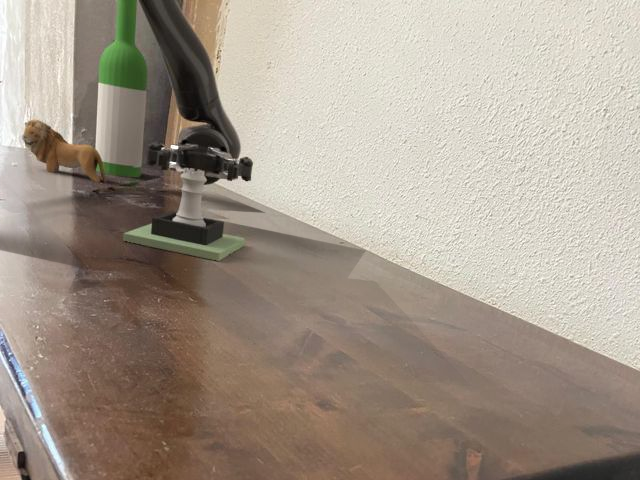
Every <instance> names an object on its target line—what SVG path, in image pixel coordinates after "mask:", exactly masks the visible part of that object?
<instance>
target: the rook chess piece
mask: <svg viewBox="0 0 640 480" xmlns="http://www.w3.org/2000/svg"><path fill="white" fill-rule="evenodd" d="M201 171H202V170H197V171H195V172H194V169H192V168H190V170H189V168H184V172H183V174H182V173H181V174H180V176H179V177H180V178H181V181H182V187H181V188H180V190H181V199H180V202H179V203H180V204H179V207H178V210H177V212H178V213H176V217H175V218H173V220H172V221H176V222H181V223H186V224H191V225H195V226H200V227H203V228H204V227H206V223H205V222H204V221H203V218H205V216H203V212H202V211H203V209H202V206H203V205H202V197H203V194H204V193H205V192H204V191H203V186H204V185H203V184H204V183H205V182H206V181H207V179H206V178H205V176H204V175H205V171H202V172H201Z"/></svg>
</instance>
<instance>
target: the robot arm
mask: <svg viewBox="0 0 640 480" xmlns="http://www.w3.org/2000/svg"><path fill="white" fill-rule="evenodd" d="M138 3H139V4H140V7H141V10H142V12H143V14H144V16H145V19H146V21H147V23H148V25H149V27H150V29H151V32H152V34H153V36H154V38H155V41H156V43H157V46H158V48H159V50H160V53H161V56H162V59H163V62H164V65H165V68H166V72H167V75H168V78H169V82H170V87H171V90H172V93H173V97H174V100H175V104H176V107H177V110H178V113H179V115H180V116H181V117H182V118H183V119H184V120H186V121H189V122H193V123H203V124H198V125H193V126H192V125H191V126H187V127H184V128H182V129H181V130H180V131H179V132H178V135H177V143H173V144H171V146H170V147H167V146H165V144H164V143H161V142H160V141H156V142H155V141H154V142H151V143H149V144H147V152H146V164H147V165H148V166H151V167H153V166H158V167H160V168H161V170H162V171H168V170H171V171H172V172H173V171H174V172H176V173H177V172H178V173H181V175H182V174H183V172H184V168H189V170H190V168H192V169H194V172H195V171H197V170H202V171H205V175H204V176H205V178H206V179H207V181H206V182H205V183H204V184H203V186H209V185H212V184H215V183H217V182H218V181H220V180H226V181H227V182H228V181H229V182H232V181H235V180H238V179H239V177H240V178H241V180H243V181H244V182H251V181H252V170H253V166H254V162H253V160H252V158H251V157H248V156H243V157H240V155H241V152H242V144H241V139H240V136H239V133H238V132H237V129H236V128H235V126H234V124H233V122H232V120H231V119H230V117H229V116H228V113H227V112H226V110H225V108H224V105H223V103H222V99H221V97H220V93H219V88H218V83H217V80H216V75H215V70H214V66H213V63H212V60H211V57H210V55H209V53H208V51H207V49H206V48H205V45H204V44H203V42H202V40H201V39H200V37H199V36H198V34H197V32H196V31H195V30H194V28H193V27H192V25H191V24H190V22H189V21H188V19H187V17H186V16H185V14H184V12H183V10H182V9H181V7H180V4H179V3H178V1H177V0H138ZM202 171H201V172H202Z"/></svg>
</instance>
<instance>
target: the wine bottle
mask: <svg viewBox="0 0 640 480" xmlns="http://www.w3.org/2000/svg"><path fill="white" fill-rule="evenodd" d="M137 7H138V0H117V10H116V30H115V38H114V39H115V40H114V41H113V43H111V44H109V46H107V47H106V48H105V49H104V51H103V52H102V54H101V56H100V59H99V68H98V86H97V104H96V105H97V108H96V127H95V128H96V129H95V147H94V148H95V149H96V150H97V151H98V153H99V155H100V157H101V160H102V163H103V168H104V173H105V175H109V176H115V177H123V178H125V177H126V178H140V177H141V175H142V165H143V164H142V163H143V148H144V147H143V146H144V132H145V120H146V119H145V117H146V106H147V105H146V103H147V87H148V86H147V85H148V66H147V61H146V59H145V57H144V55H143V53H142V52H141V50H139V48H138V47H137V45H136V31H137V30H136V28H137V12H138V11H137V9H138V8H137ZM96 172H98V173H101V171H100V168H99V164H98V165H97V169H96ZM139 184H140V180H139V181H133V182H127V183H123V184H119V185H117V186H119V187H136V186H138V185H139Z"/></svg>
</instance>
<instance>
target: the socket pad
mask: <svg viewBox="0 0 640 480" xmlns="http://www.w3.org/2000/svg"><path fill="white" fill-rule="evenodd" d="M176 213H178V211H174V210H172V211H169V212H166V213H163V214H159V215H156V216H153V217H152V218H151V223H149V224H146V225H143V226H140V227H138V228H135V229H132V230H129V231H126V232H123V242H125V241H127V242H126V243H130V242H131V243H130V244H134V243H135V245H139V244H140V245H139V246H144V247H149V248H152V249H153V248H154V249H159V250H164V251H167V252H173V253H177V254H182V255H187V256H191V257H192V256H193V257H196V258H202V259H206V260H210V259H211V261H215V260H216V262H220V261H221V260H223V259H225V258H227V257H228V256H230V255H231V254H233V253H235V252H236V251H238V250H240V249H242V248H243V247H245V245H246V238H245V237H241V236H236V235H231V234H228V233H227V234H226V233H224V227H225V222H224V221H222V220H217V219H212V218H207V217H204V218H203V221H204V222H205V223H206V227H204V228H203V227H200V226H195V225H191V224H186V223H181V222H176V221H172V220H173V218H175V217H176ZM234 251H235V252H234ZM229 254H230V255H229Z"/></svg>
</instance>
